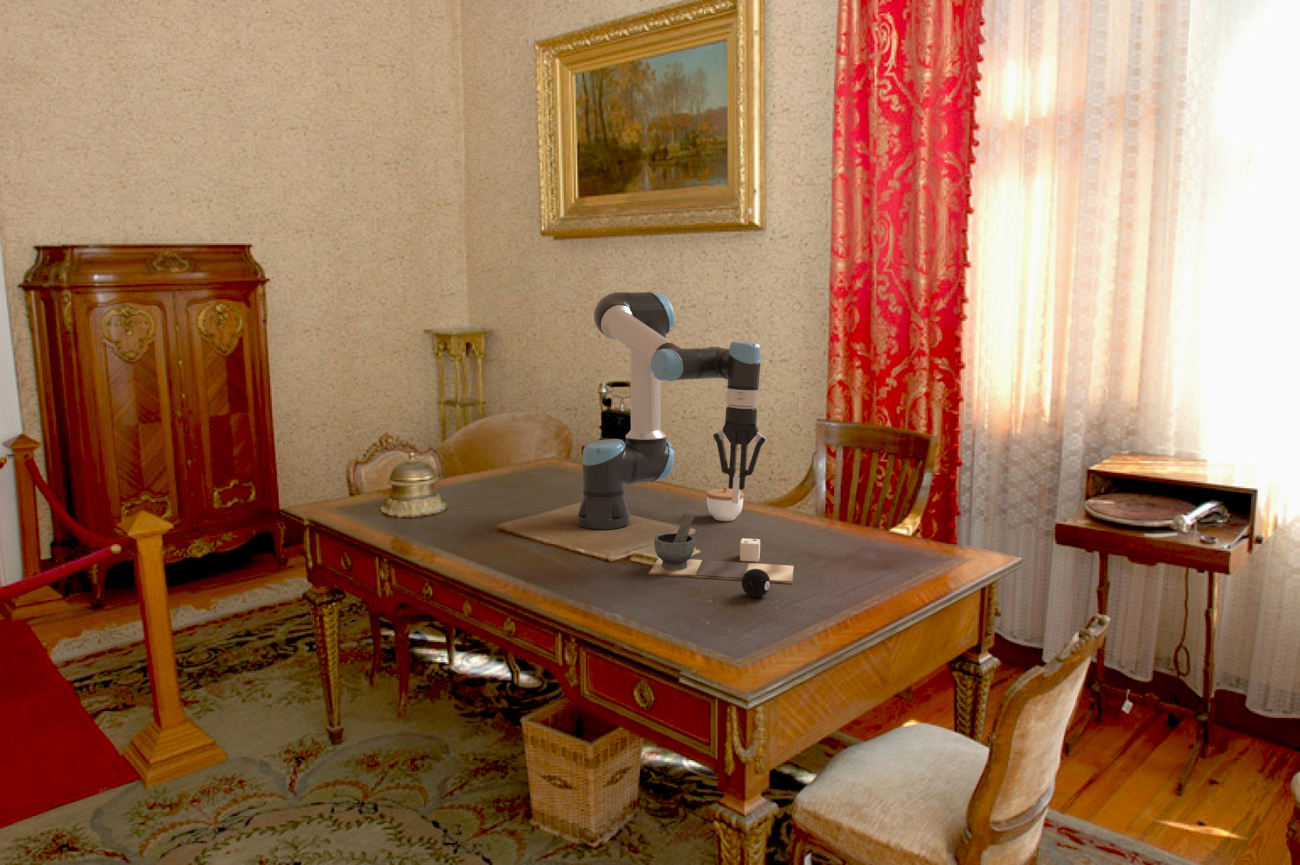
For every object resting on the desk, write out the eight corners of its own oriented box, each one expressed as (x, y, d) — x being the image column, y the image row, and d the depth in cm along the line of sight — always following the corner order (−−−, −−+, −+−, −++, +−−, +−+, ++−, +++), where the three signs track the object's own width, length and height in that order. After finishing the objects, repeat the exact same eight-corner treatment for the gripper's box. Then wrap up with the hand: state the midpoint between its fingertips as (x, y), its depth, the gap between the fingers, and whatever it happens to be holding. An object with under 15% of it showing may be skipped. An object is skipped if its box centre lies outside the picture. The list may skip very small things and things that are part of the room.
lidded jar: (743, 514, 267) (743, 483, 266) (743, 523, 257) (744, 491, 255) (706, 513, 268) (707, 482, 267) (705, 522, 258) (706, 490, 256)
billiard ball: (751, 590, 199) (752, 563, 198) (774, 595, 195) (775, 569, 194) (736, 596, 194) (736, 569, 193) (759, 602, 191) (760, 575, 190)
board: (648, 574, 209) (648, 572, 209) (658, 558, 222) (658, 556, 222) (792, 584, 203) (792, 581, 203) (794, 567, 216) (794, 565, 216)
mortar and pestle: (676, 575, 207) (677, 524, 205) (645, 567, 213) (646, 517, 211) (706, 564, 216) (707, 515, 214) (676, 556, 222) (676, 509, 220)
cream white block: (739, 560, 221) (740, 542, 220) (741, 555, 225) (742, 538, 225) (758, 562, 220) (758, 543, 219) (759, 556, 224) (760, 539, 224)
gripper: (712, 405, 215) (706, 502, 219) (766, 410, 212) (760, 508, 216) (717, 402, 223) (712, 496, 226) (770, 406, 219) (764, 501, 223)
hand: (735, 502), depth 221 cm, fingers closed
